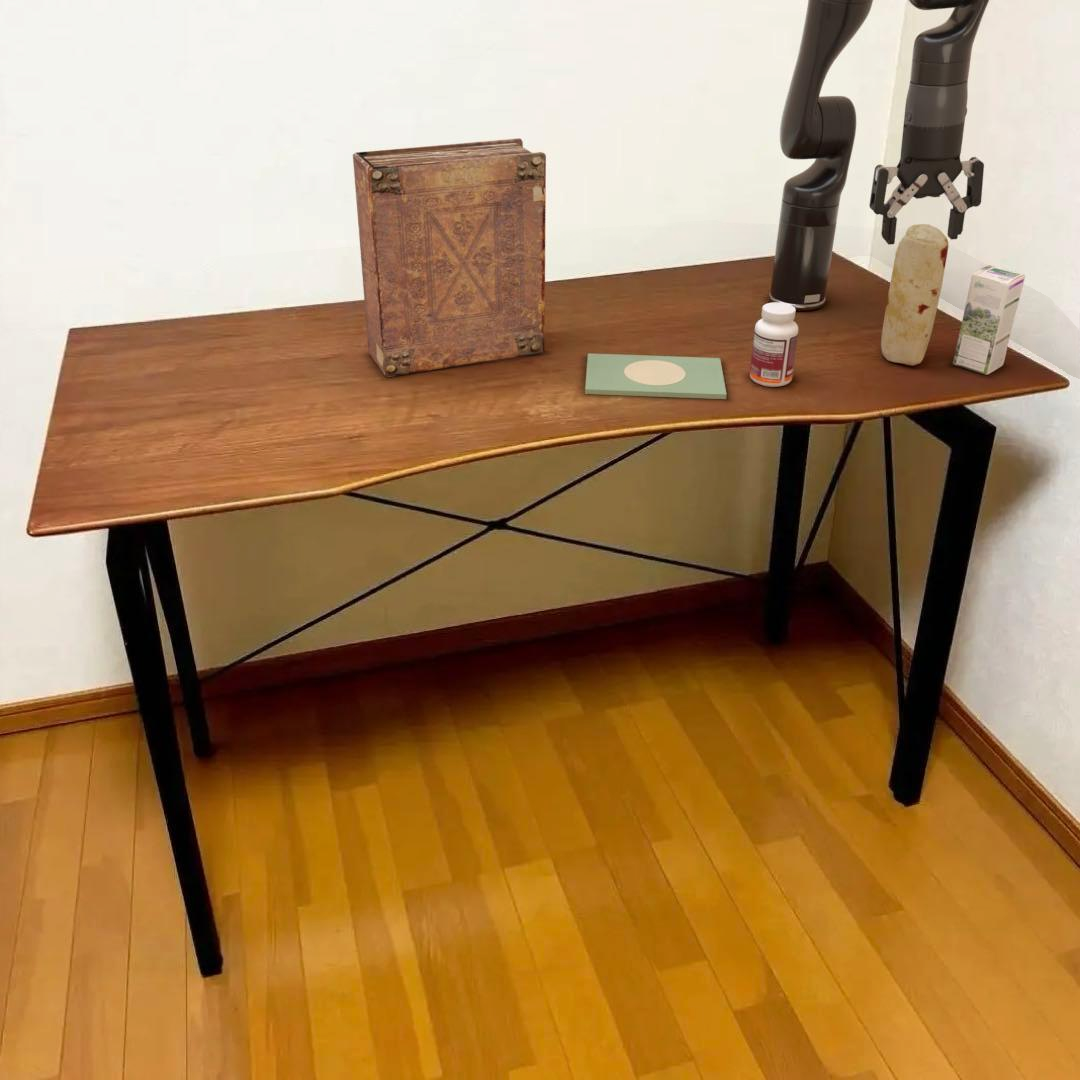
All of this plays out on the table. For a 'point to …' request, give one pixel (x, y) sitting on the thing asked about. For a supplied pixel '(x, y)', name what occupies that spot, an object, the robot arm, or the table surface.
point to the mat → (655, 376)
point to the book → (452, 254)
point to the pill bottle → (774, 345)
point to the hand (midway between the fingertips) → (920, 240)
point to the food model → (914, 294)
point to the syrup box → (988, 319)
